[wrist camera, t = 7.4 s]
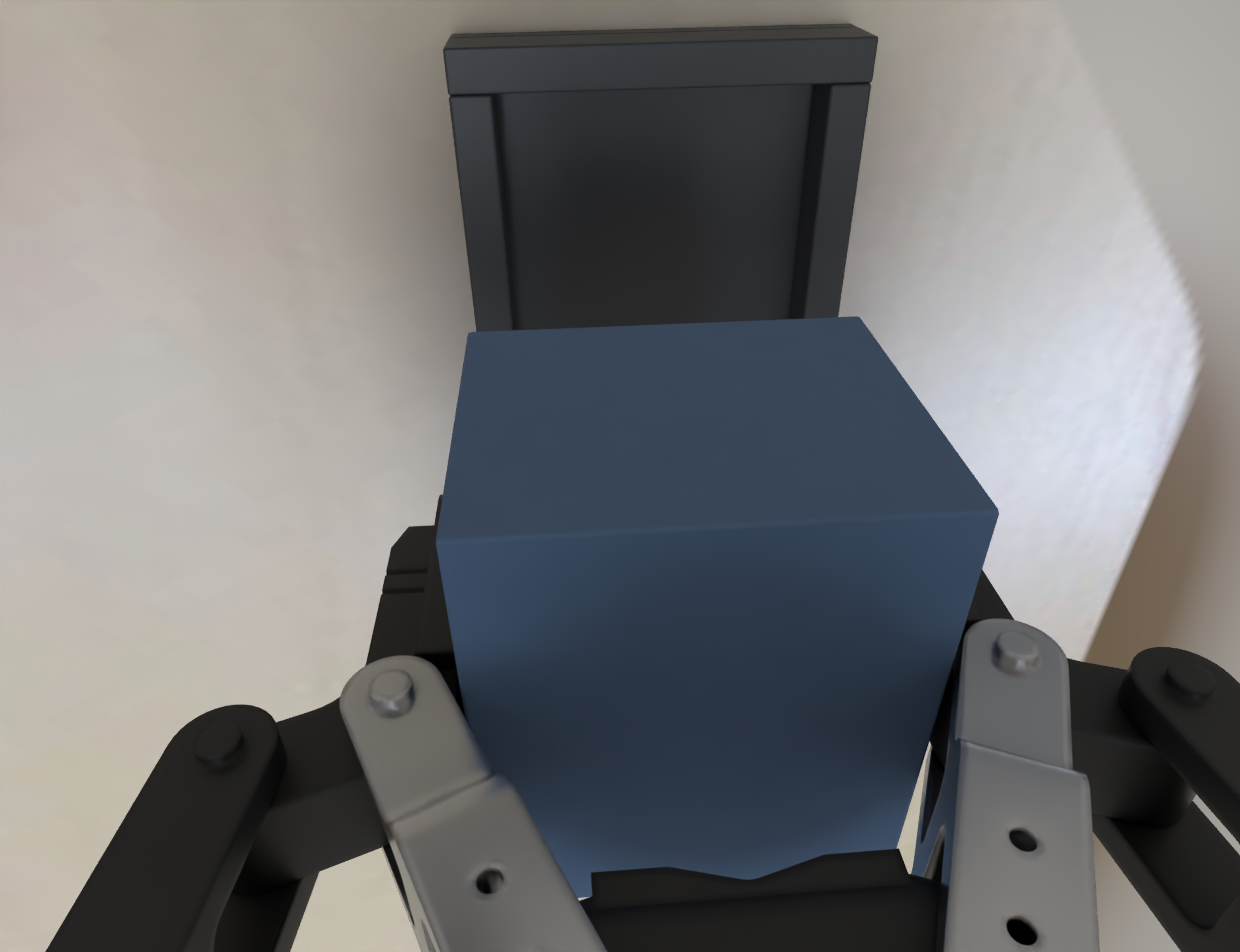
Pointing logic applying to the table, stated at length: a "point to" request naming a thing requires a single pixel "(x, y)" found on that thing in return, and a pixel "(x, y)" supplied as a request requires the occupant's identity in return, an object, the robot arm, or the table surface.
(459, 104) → the frame
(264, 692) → the table surface
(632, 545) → the matte blue cube
